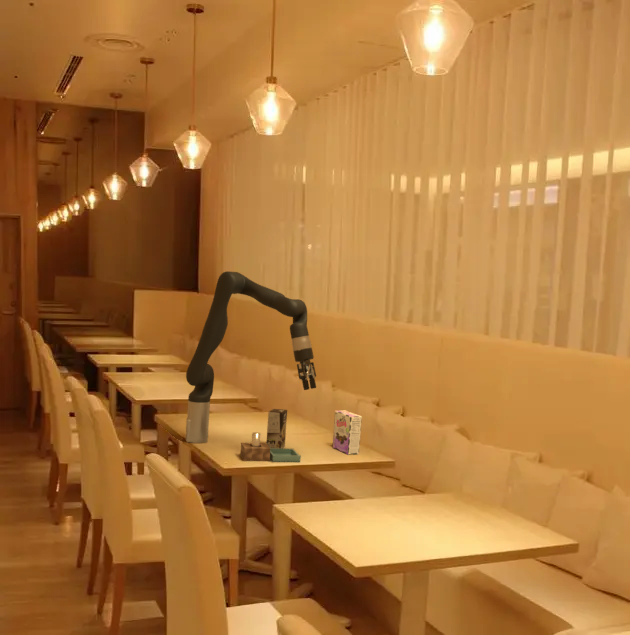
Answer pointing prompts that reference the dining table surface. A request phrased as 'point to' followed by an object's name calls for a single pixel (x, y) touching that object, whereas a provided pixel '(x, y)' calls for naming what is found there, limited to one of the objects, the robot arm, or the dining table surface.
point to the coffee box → (276, 428)
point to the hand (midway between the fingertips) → (310, 389)
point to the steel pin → (255, 439)
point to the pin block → (255, 452)
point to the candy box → (347, 432)
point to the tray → (284, 455)
